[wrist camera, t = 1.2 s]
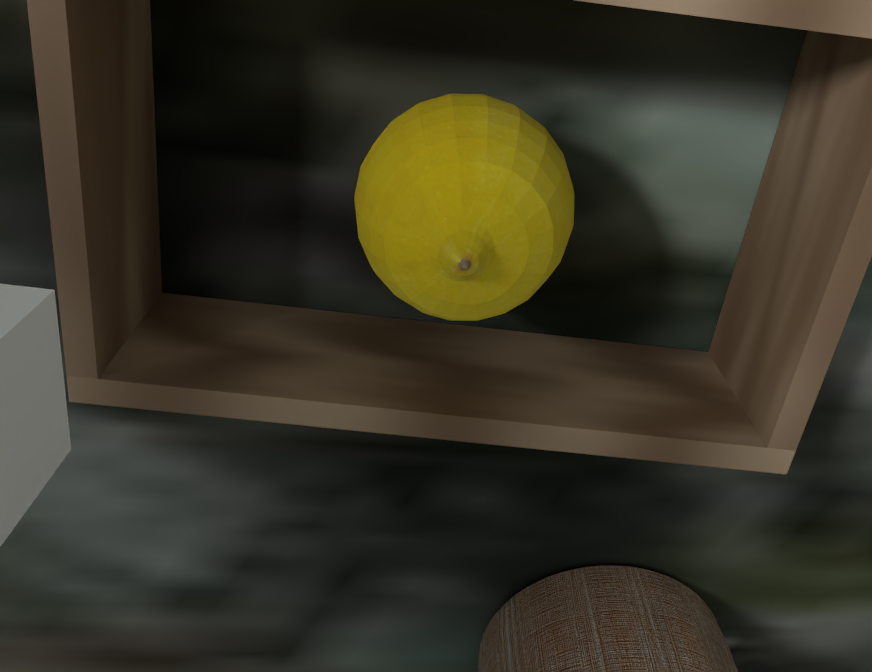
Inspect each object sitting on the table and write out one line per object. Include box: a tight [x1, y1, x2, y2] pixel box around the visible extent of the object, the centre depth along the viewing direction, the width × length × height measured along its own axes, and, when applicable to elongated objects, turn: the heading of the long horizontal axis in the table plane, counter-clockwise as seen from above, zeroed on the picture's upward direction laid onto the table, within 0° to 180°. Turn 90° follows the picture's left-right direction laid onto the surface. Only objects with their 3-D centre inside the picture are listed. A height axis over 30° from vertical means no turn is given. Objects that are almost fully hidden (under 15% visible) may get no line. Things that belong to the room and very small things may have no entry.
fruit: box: [354, 93, 575, 321], centre depth 21 cm, size 6×6×8 cm
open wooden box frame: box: [27, 0, 872, 474], centre depth 22 cm, size 20×12×6 cm, turn 83°
